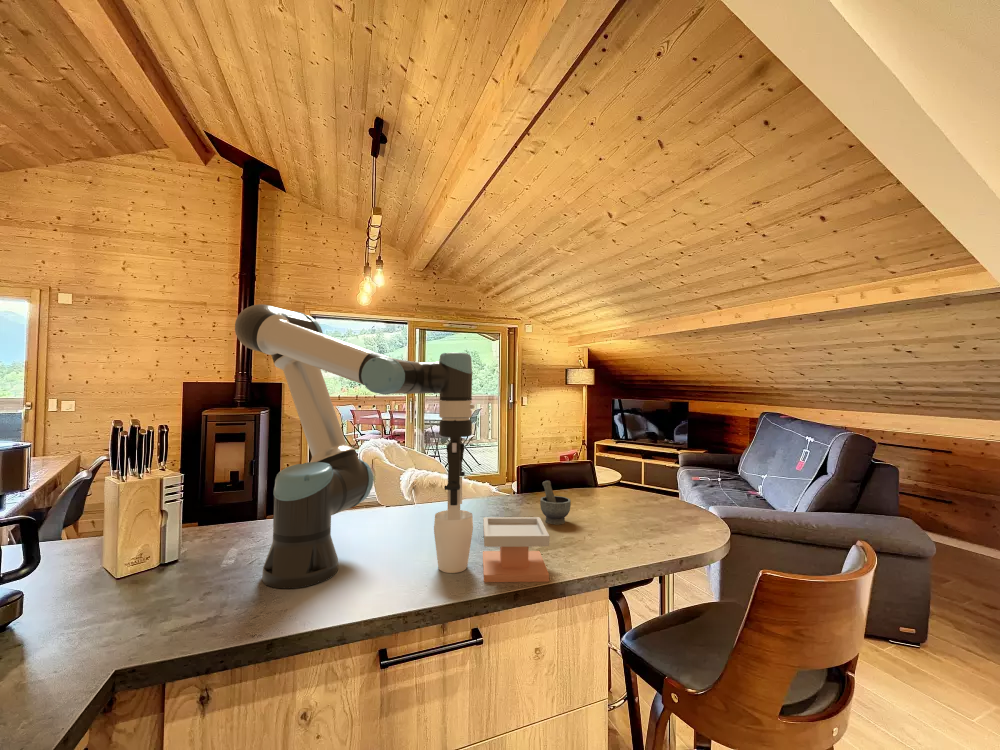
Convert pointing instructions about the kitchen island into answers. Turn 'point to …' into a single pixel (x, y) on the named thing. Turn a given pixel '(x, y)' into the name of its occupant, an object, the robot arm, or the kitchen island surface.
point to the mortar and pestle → (554, 506)
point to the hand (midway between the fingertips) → (455, 511)
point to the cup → (453, 541)
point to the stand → (514, 549)
